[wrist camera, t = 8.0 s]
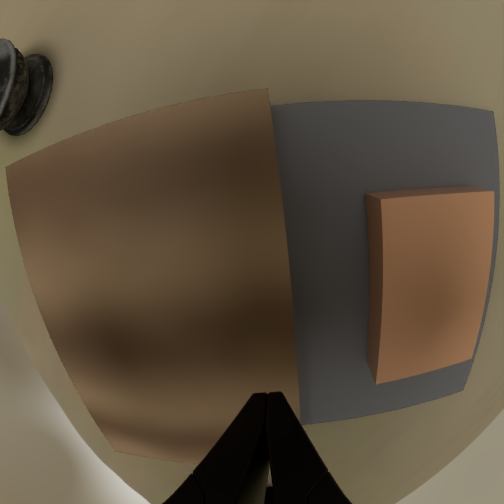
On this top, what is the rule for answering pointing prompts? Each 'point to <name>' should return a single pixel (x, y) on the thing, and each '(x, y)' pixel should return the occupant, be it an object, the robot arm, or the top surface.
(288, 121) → the mat
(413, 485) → the top surface
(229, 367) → the board
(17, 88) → the dark grey chess piece
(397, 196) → the tile
